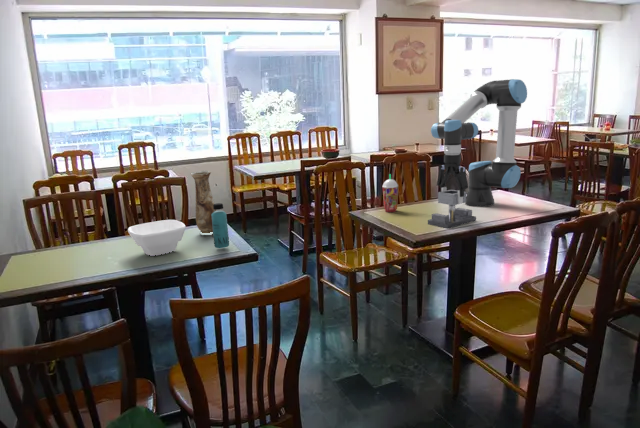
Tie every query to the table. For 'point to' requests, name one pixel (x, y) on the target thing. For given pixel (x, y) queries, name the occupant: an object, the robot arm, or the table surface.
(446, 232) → the table surface
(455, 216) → the shaft stand
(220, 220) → the beverage bottle
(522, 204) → the table surface
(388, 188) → the smoothie
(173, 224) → the bowl
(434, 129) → the robot arm
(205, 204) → the vase
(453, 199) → the grey square socket block
